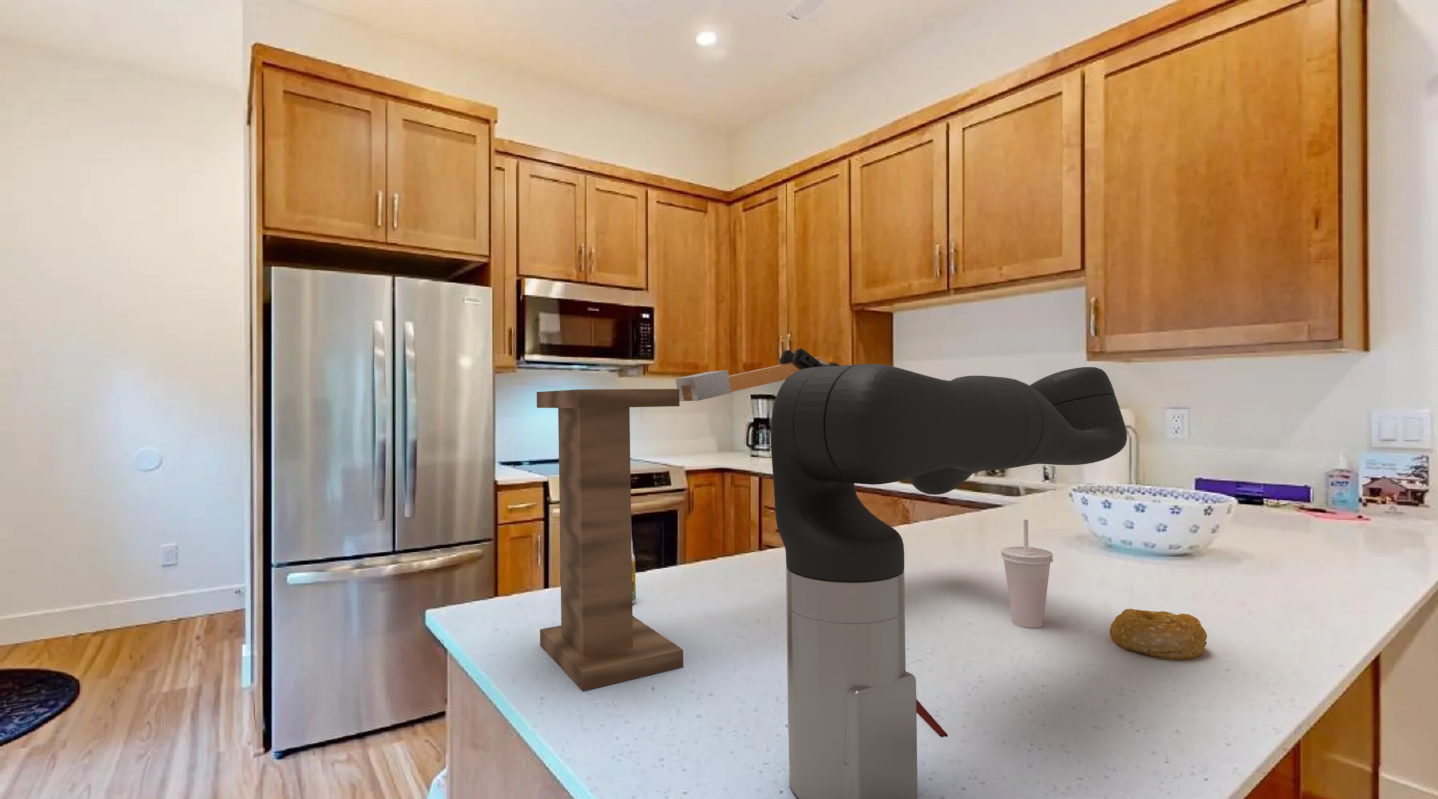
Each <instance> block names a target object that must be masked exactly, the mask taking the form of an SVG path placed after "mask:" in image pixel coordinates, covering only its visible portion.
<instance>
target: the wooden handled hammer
mask: <svg viewBox="0 0 1438 799" xmlns="http://www.w3.org/2000/svg"><path fill="white" fill-rule="evenodd" d="M814 358H815V359H817V360H818V361H824V357H823V356H818V357H814ZM799 370H802V369H801V368H800V367H799V366H797V365H796V364H794V363H793V362H790V363H786V364H778V365H772V366H768V367H762V368H759V369H758V368H757V369H754V370H749V371H744V372H740V373H735V374H730V375H729V372H728V370H726V369H724V370H714V371H705V372H702V373H701V372H700V373H696V374H691V375H685V376H680V377H677V378H676V377H675V378H674V379H675V386H676V389H679V400H680V402H698V401H699V402H700V401H703V400H707V399H708V400H709V399H712V398H716V397H720V396H724V395H729V394H732V393H734V392H738V391H741V390H742V391H743V390H747V389H750V388H755V387H759V386H764V385H769V384H773V383H777V382H781V381H782V382H783V381H785V380H786V379H787V378H788V377H789V376H790V375H792V374H793V373H795V372H796V371H799Z"/></svg>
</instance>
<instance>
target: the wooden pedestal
mask: <svg viewBox="0 0 1438 799" xmlns="http://www.w3.org/2000/svg"><path fill="white" fill-rule="evenodd" d="M680 402H681V401H680V400H679V389H677V388H624V389H623V388H621V389H620V388H618V389H617V388H616V389H615V388H614V389H612V388H610V389H605V388H602V389H598V388H596V389H593V388H592V389H586V388H585V389H581V388H580V389H578V388H577V389H565V390H563V389H562V390H548V391H547V390H545V391H536V408H538V409H557V410H558V411H557V415H558V416H557V417H558V418H557V419H558V420H557V424H558V429H557V430H558V484H559V486H558V488H559V493H558V494H559V498H558V499H559V552H560V553H559V556H560V557H559V561H560V562H559V563H560V566H559V567H560V568H559V569H560V620H561V622H560V625H556V626H551V627H544V628H540V629H539V642H540V643H539V646H540V647H541V648H543V650H544V651H545V652H546V653H547V654H548V655H549V656H550V658H551V659H553V661H554V662H555V663H556V664H557V665H558V666H559V668H560V669H562V670H563V672H564V673H565V674H566V675H567V676H568V677H569V678H570V679H571V680H572V681H573V682H574V683H575V685H576V686H577V687H578V688H579V689H580V690H581V691H582V692H586V691H590V690H593V689H599V688H602V687H607V686H610V685H615V684H618V683H623V682H627V681H632V680H636V679H638V678H643V677H646V676H647V677H648V676H651V675H656V674H659V673H660V674H661V673H664V672H668V671H672V670H676V669H681V668H684V649H683V648H682V647H680V646H679V645H677V644H676V643H674V642H672V641H671V640H669V639H668V638H667V637H665V636H664V635H662V634H660V633H659V632H657V631H656V630H655V629H653V628H652V627H650V626H649V625H647V624H645V623H644V622H643V621H641V620H640V619H638V618H637V617H636V616H634V615H633V604H632V554H633V552H632V549H633V547H632V492H631V490H632V489H631V488H632V487H631V485H632V483H631V482H632V481H631V480H632V478H631V428H630V427H631V425H630V424H631V422H630V421H631V420H630V419H631V417H630V416H631V415H630V414H631V413H630V412H631V411H630V408H661V407H663V408H664V407H669V408H670V407H680Z"/></svg>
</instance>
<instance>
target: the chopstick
mask: <svg viewBox="0 0 1438 799" xmlns="http://www.w3.org/2000/svg"><path fill="white" fill-rule="evenodd" d="M917 714H918V716H920V718H921V719H923V721H924V722H925V723H926V724H927V725H928V726H929V727H930V728H931V729H932V730H933V731H934V732H935V733H936V734H937V735H938V736H939V737H940V738H944V737H945V738H946V737H949V735H948V733H947V732H946V731H945V730H944V729H943V728H942V726H941V725H940V724H939V723H938V722H937V720H935V718H934V717H933V716H932V715H931V714H930V713H929V711H928V710H927V709H926V708H925V707H924V706H923V705H922V704H921V702H920V701H919V700H918V699H917V698H916V715H917Z"/></svg>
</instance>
